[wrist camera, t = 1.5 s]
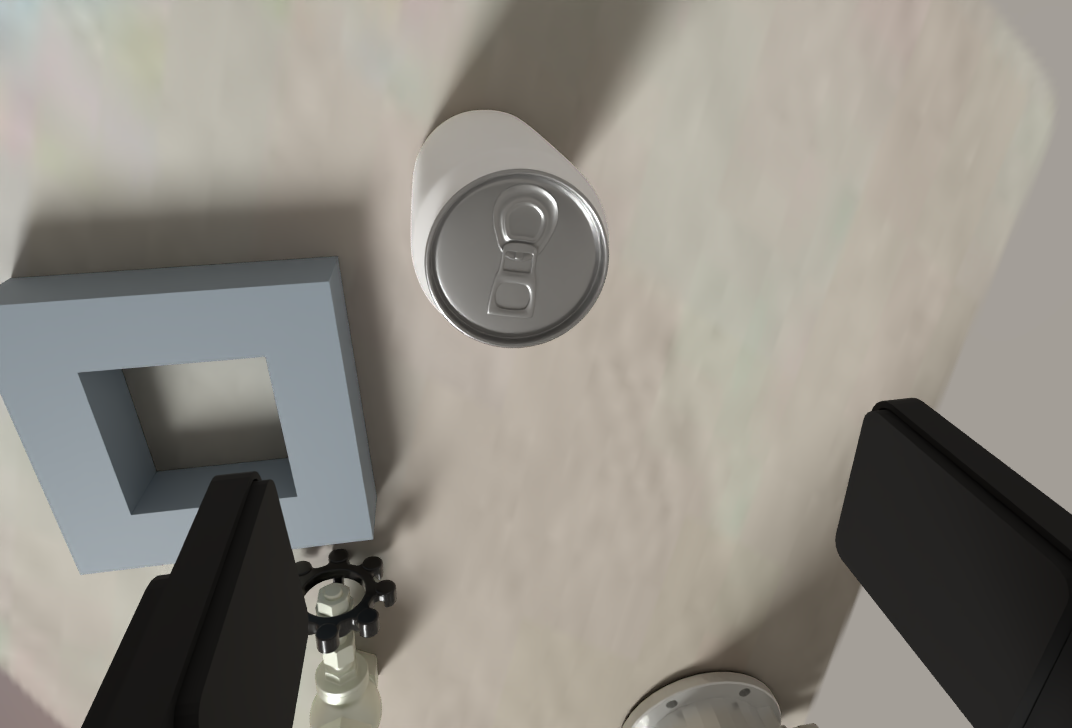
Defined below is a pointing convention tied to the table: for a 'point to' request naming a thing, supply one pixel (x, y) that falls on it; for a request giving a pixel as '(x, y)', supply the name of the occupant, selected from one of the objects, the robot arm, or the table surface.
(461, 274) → the can
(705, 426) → the table surface
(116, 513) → the socket block
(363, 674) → the valve
